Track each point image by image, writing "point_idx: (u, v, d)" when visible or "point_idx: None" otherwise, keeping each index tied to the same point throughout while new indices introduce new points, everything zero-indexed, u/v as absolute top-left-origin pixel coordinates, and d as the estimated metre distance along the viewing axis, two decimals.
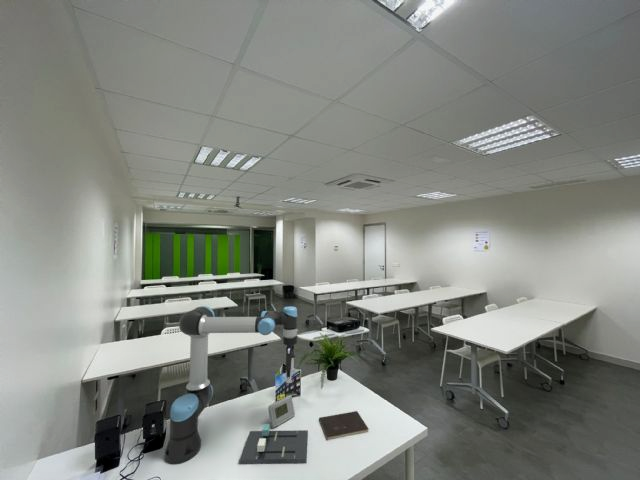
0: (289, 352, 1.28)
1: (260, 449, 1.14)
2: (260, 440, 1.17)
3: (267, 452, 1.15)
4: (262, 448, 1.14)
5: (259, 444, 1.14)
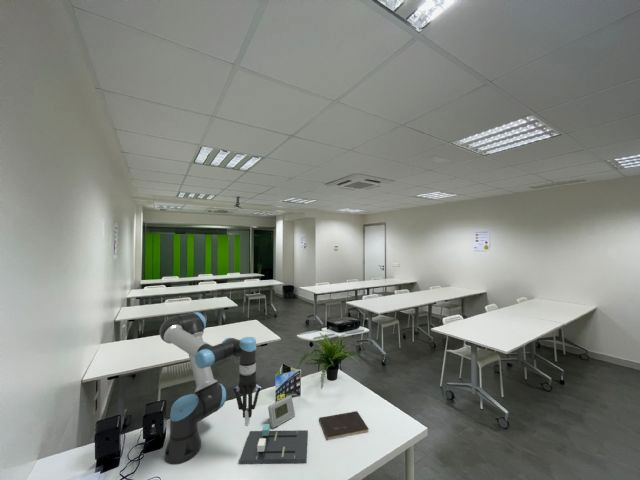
0: None
1: (260, 449, 1.14)
2: (260, 440, 1.17)
3: (267, 452, 1.15)
4: (262, 448, 1.14)
5: (259, 444, 1.14)
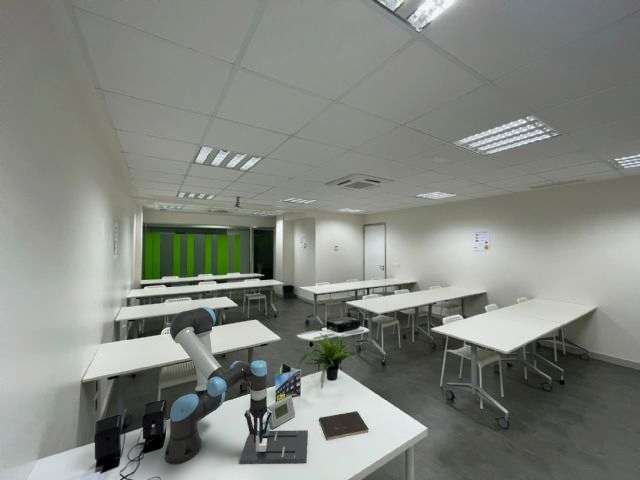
0: None
1: (261, 449, 1.14)
2: None
3: (267, 452, 1.15)
4: (263, 448, 1.14)
5: (260, 444, 1.14)
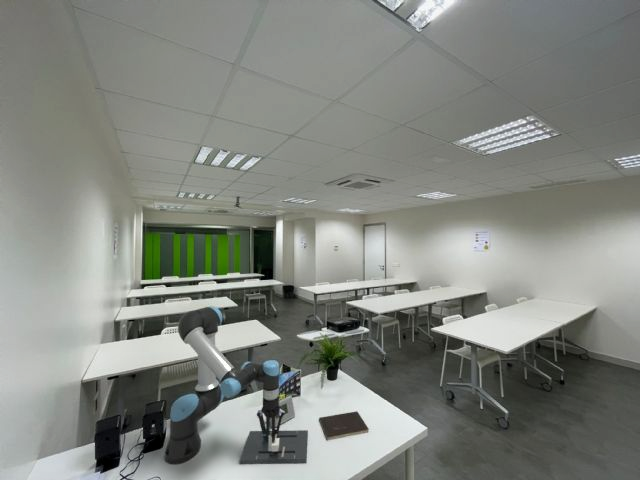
0: None
1: (274, 449, 1.14)
2: None
3: (267, 452, 1.15)
4: (276, 448, 1.14)
5: (273, 444, 1.15)
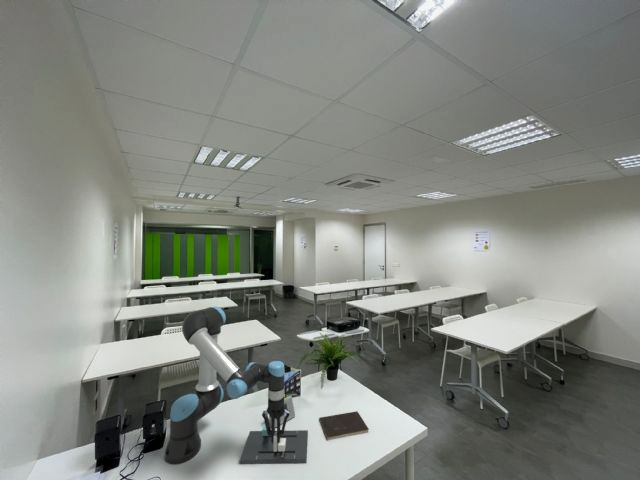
0: None
1: (281, 449, 1.14)
2: (280, 440, 1.17)
3: (267, 452, 1.15)
4: (283, 448, 1.14)
5: (280, 444, 1.15)
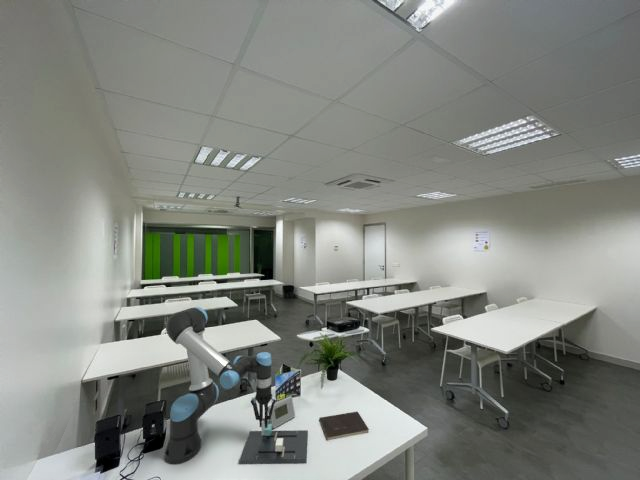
0: None
1: (278, 449, 1.14)
2: (278, 440, 1.17)
3: (267, 452, 1.15)
4: (280, 448, 1.14)
5: (277, 444, 1.15)
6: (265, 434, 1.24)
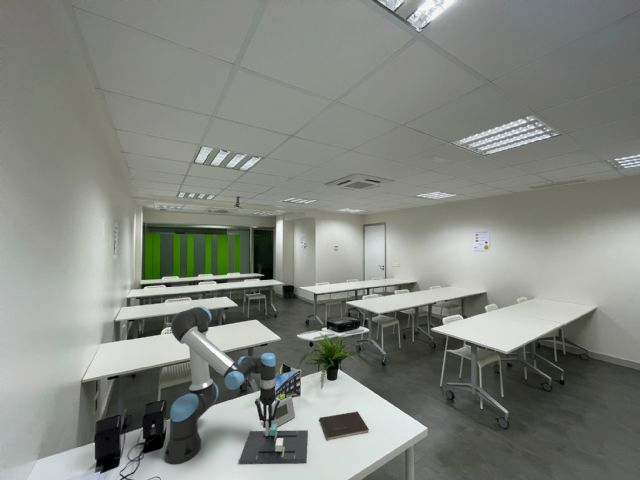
0: None
1: (278, 449, 1.14)
2: (278, 440, 1.17)
3: (267, 452, 1.15)
4: (280, 448, 1.14)
5: (277, 444, 1.15)
6: (270, 434, 1.24)
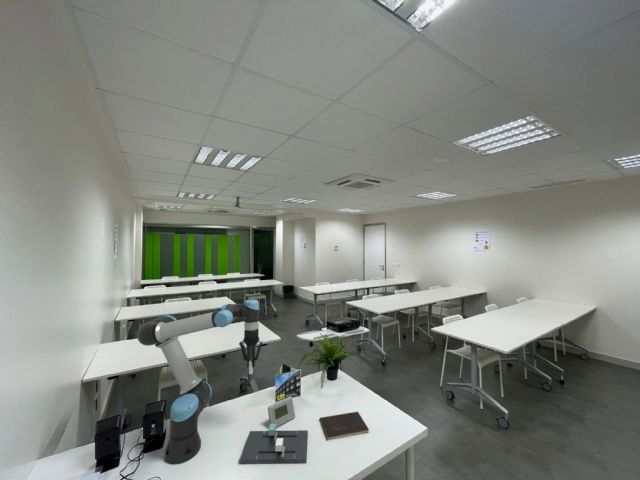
0: None
1: (278, 449, 1.14)
2: (278, 440, 1.17)
3: (267, 452, 1.15)
4: (280, 448, 1.14)
5: (277, 444, 1.15)
6: (269, 434, 1.24)
